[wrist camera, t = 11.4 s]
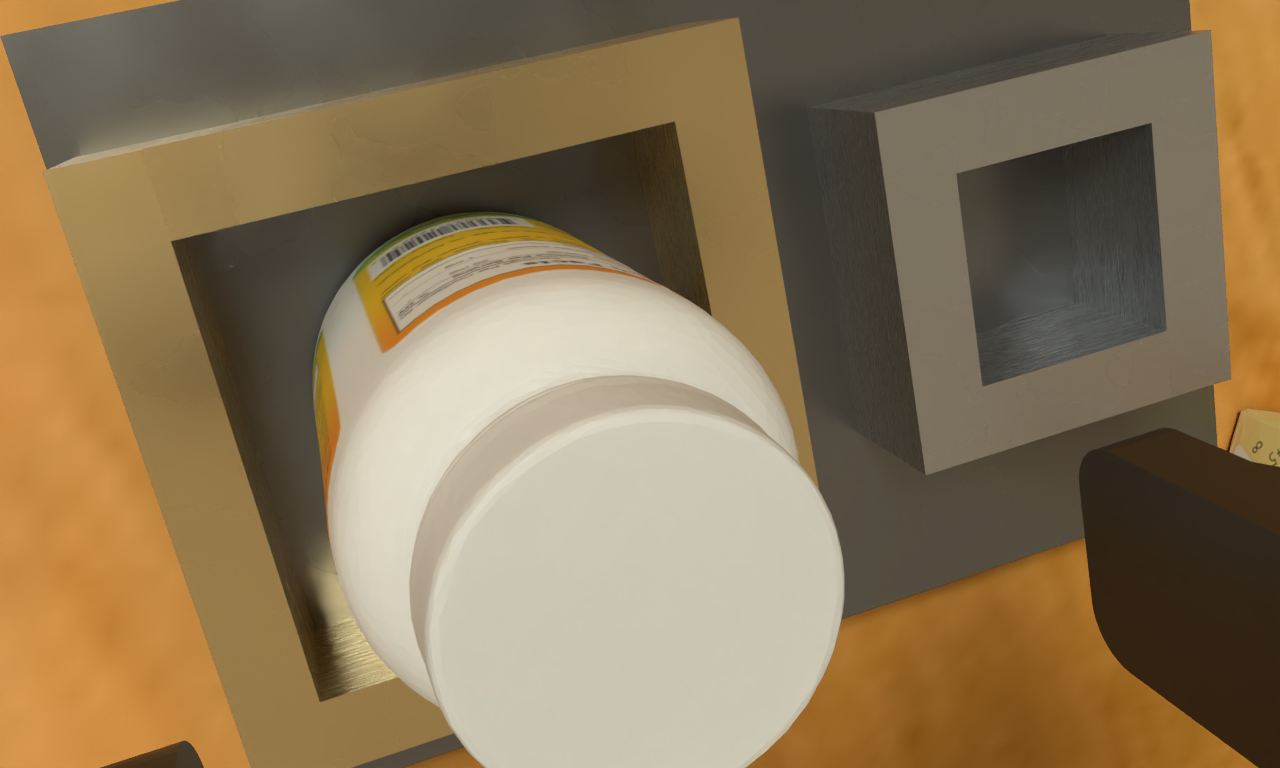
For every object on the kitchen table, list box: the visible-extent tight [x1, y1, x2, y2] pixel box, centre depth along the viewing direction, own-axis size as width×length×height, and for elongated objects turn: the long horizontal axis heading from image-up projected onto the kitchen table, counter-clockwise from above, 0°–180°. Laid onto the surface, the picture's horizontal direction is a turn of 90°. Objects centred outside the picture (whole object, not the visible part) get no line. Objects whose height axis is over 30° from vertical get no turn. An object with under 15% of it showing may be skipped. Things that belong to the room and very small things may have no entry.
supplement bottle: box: [312, 212, 845, 768], centre depth 16 cm, size 5×5×10 cm
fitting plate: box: [1, 0, 1231, 768], centre depth 21 cm, size 19×13×4 cm
